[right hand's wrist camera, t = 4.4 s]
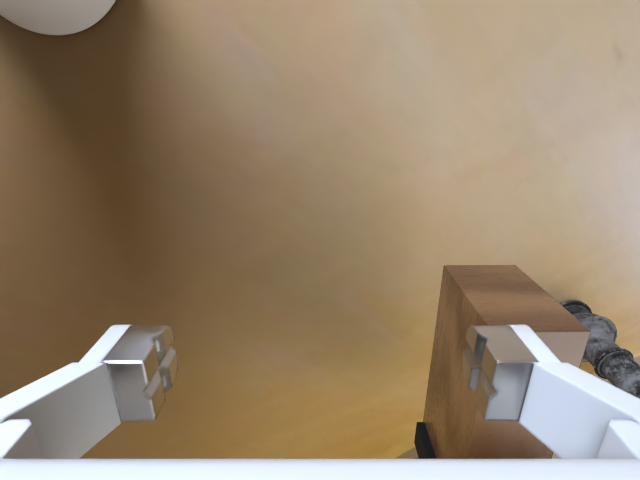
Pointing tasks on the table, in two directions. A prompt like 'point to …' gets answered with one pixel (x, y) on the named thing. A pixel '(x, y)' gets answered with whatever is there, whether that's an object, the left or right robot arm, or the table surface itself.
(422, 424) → the left robot arm
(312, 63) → the table surface
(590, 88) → the table surface
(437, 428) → the box
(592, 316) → the grey chess piece
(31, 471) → the right robot arm
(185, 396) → the table surface
